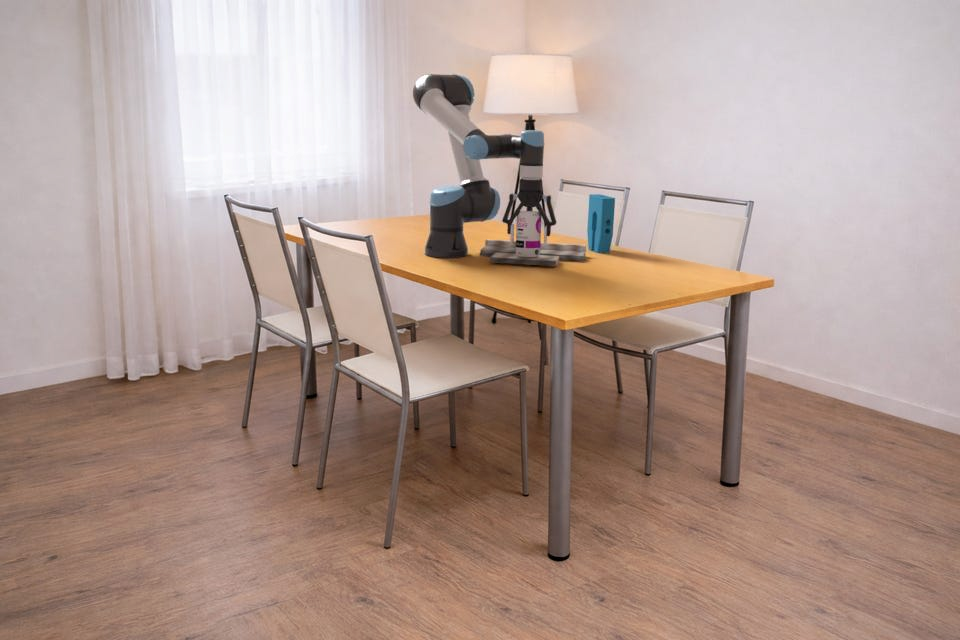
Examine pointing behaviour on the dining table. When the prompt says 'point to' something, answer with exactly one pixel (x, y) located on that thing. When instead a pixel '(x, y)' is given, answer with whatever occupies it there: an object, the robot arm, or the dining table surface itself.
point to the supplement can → (528, 234)
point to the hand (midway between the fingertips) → (528, 244)
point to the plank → (524, 259)
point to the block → (600, 222)
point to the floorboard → (552, 249)
